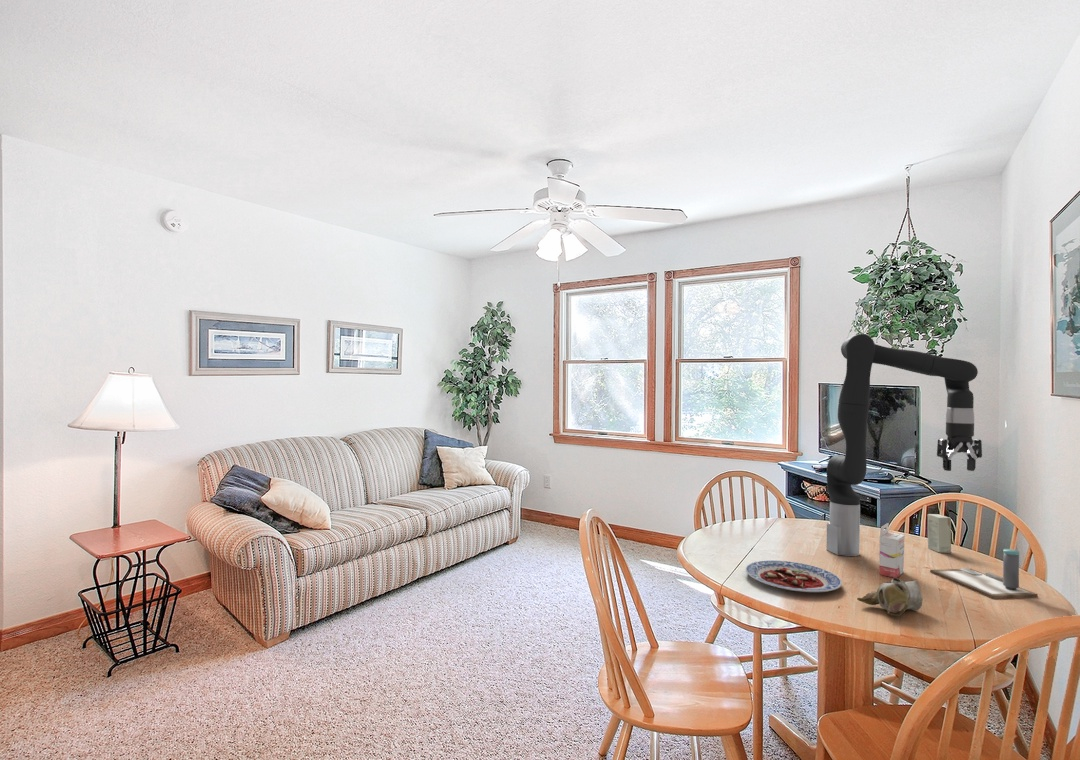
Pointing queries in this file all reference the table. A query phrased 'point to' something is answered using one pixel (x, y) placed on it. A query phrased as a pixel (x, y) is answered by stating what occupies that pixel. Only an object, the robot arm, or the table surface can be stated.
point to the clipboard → (982, 583)
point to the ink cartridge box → (891, 553)
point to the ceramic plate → (793, 576)
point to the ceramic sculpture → (896, 596)
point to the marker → (1011, 569)
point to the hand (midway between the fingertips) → (959, 470)
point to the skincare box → (939, 533)
